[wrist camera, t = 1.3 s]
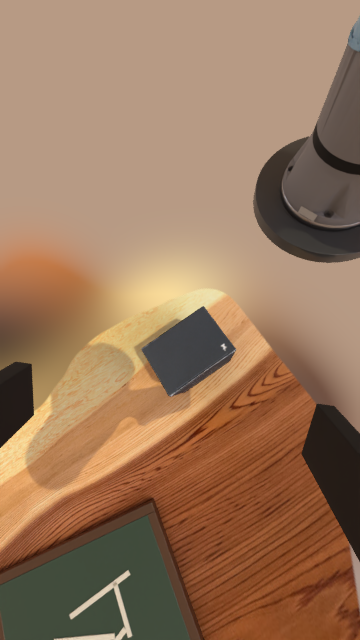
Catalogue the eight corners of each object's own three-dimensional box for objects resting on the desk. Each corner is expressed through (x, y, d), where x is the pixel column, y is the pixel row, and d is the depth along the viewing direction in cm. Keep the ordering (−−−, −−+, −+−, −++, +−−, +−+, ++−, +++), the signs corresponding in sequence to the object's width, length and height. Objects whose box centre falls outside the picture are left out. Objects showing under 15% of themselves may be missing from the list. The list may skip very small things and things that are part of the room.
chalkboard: (153, 498, 30) (151, 502, 29) (221, 688, 24) (222, 702, 23) (-6, 574, 30) (-14, 581, 29) (28, 779, 25) (20, 796, 24)
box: (206, 327, 34) (204, 304, 24) (231, 360, 33) (239, 350, 22) (161, 358, 34) (138, 348, 24) (183, 394, 32) (169, 398, 22)
